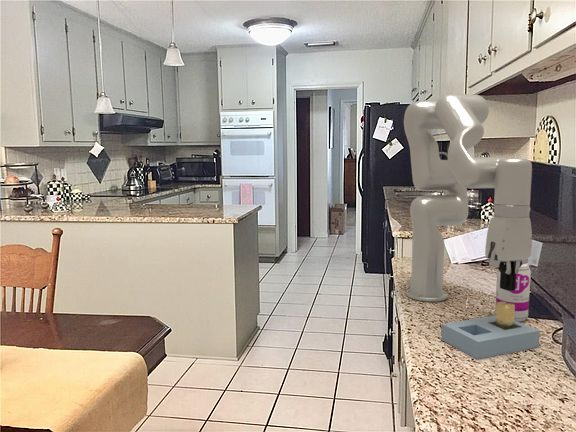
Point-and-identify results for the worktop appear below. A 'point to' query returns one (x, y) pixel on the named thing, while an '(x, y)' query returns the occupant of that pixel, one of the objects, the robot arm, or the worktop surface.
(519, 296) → the supplement can
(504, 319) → the yellow cylinder
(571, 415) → the worktop surface
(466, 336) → the block
